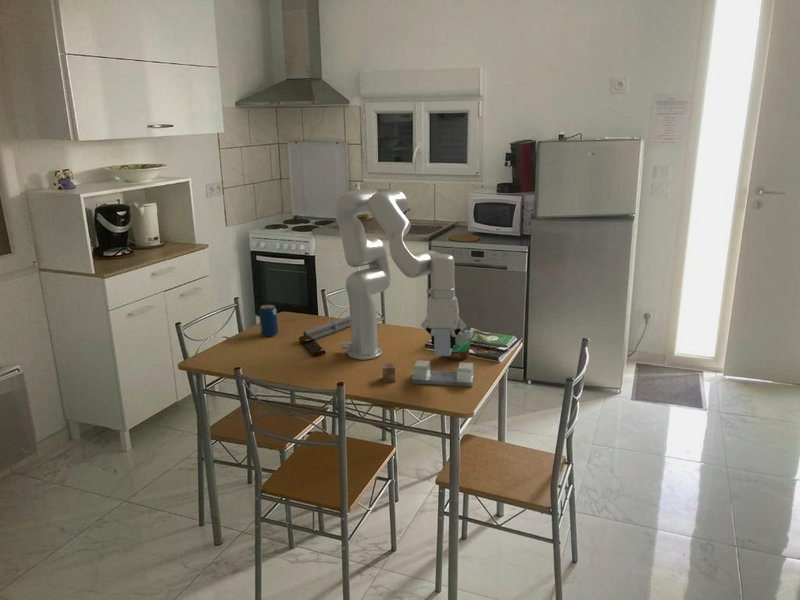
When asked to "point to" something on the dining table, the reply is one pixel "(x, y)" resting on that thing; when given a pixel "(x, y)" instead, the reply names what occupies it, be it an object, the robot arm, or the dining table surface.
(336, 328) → the metal rod assembly
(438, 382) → the rail
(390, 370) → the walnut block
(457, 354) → the food container
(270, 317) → the soda can
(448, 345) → the grey-blue module block
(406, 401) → the dining table surface
